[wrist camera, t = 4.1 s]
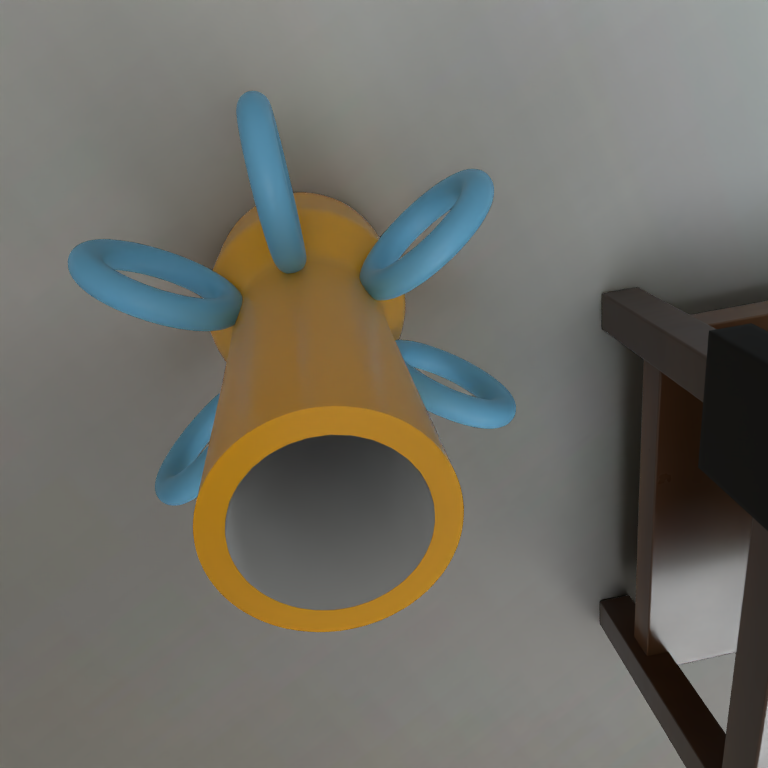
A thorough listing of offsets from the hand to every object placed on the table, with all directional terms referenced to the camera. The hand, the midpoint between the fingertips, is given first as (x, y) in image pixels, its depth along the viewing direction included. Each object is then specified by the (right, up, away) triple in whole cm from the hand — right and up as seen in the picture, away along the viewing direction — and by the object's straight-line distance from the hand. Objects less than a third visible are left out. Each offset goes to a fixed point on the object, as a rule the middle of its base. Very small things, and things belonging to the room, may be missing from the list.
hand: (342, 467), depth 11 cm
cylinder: (-2, +5, +12) cm, 14 cm away
